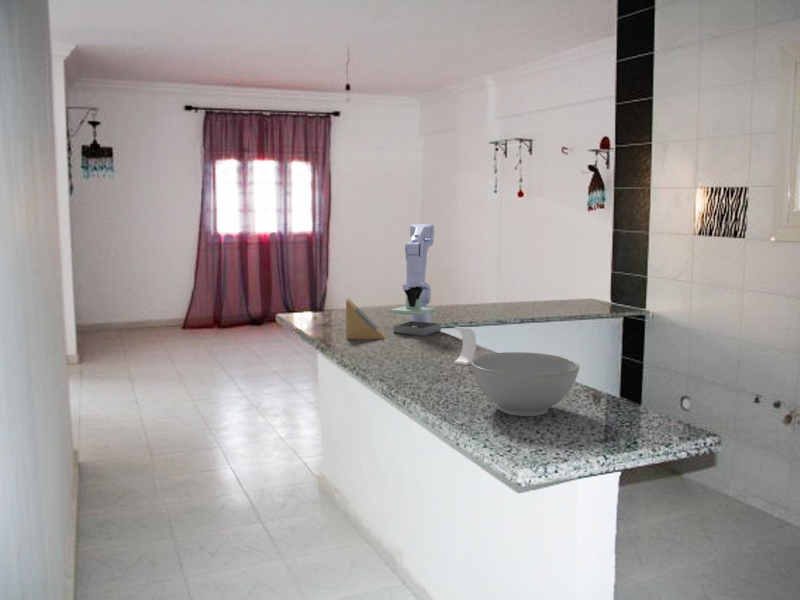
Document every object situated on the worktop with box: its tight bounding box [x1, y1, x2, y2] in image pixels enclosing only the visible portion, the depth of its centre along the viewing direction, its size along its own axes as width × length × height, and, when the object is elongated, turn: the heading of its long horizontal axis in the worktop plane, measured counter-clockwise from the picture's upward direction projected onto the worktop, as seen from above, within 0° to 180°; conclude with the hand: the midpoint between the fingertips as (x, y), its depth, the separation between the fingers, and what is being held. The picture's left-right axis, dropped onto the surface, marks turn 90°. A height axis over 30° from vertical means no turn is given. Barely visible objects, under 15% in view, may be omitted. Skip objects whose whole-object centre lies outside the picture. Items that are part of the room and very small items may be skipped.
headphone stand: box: [453, 326, 477, 366], centre depth 243 cm, size 5×6×12 cm
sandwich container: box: [345, 297, 387, 340], centre depth 289 cm, size 9×15×15 cm, turn 90°
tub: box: [392, 320, 442, 337], centre depth 301 cm, size 14×14×3 cm
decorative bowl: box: [470, 351, 580, 417], centre depth 188 cm, size 27×27×12 cm
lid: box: [389, 298, 438, 315], centre depth 300 cm, size 14×14×5 cm
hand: (413, 306), depth 300 cm, fingers closed on lid
